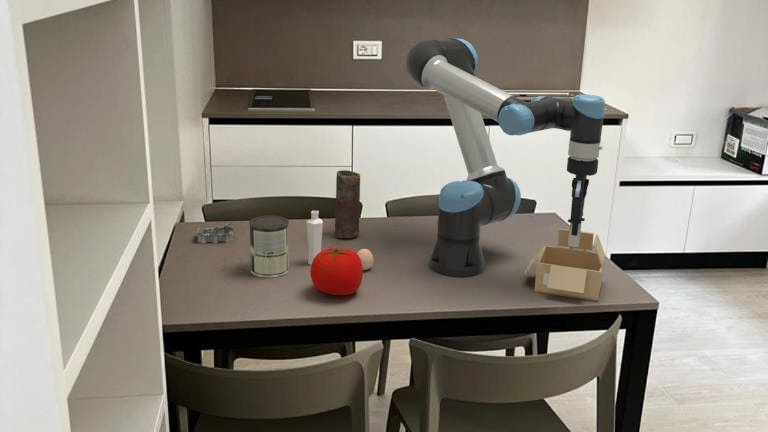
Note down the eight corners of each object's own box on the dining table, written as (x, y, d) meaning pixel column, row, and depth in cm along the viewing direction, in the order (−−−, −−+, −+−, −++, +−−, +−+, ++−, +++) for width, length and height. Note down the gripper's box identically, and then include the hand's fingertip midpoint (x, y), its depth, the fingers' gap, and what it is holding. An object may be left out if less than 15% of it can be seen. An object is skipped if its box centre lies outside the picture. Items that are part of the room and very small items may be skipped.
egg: (355, 273, 214) (356, 252, 212) (353, 266, 218) (354, 246, 217) (374, 272, 214) (375, 252, 213) (371, 265, 219) (372, 245, 217)
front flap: (550, 264, 202) (547, 287, 200) (550, 264, 201) (547, 287, 200) (587, 270, 199) (583, 293, 198) (587, 269, 199) (583, 293, 197)
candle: (345, 230, 246) (346, 168, 240) (364, 235, 242) (365, 172, 236) (329, 236, 240) (330, 173, 234) (348, 242, 236) (350, 177, 230)
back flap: (557, 245, 214) (558, 229, 210) (558, 244, 214) (559, 228, 210) (592, 250, 211) (593, 233, 207) (592, 249, 211) (593, 232, 208)
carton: (534, 291, 205) (537, 263, 203) (542, 272, 218) (544, 245, 215) (597, 301, 200) (601, 272, 198) (601, 281, 213) (605, 253, 211)
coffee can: (242, 269, 213) (241, 220, 209) (273, 260, 220) (272, 212, 216) (265, 281, 207) (264, 230, 202) (296, 271, 213) (296, 222, 209)
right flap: (601, 265, 201) (593, 244, 200) (603, 255, 208) (596, 234, 207) (602, 265, 200) (594, 243, 200) (605, 254, 208) (597, 234, 207)
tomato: (368, 284, 206) (369, 242, 203) (354, 305, 194) (355, 261, 190) (320, 279, 209) (321, 237, 205) (304, 299, 196) (304, 255, 193)
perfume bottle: (326, 263, 220) (327, 211, 215) (315, 267, 217) (315, 215, 212) (315, 258, 223) (315, 208, 218) (303, 262, 220) (303, 211, 215)
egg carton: (234, 235, 240) (233, 222, 239) (233, 244, 233) (233, 230, 232) (197, 235, 238) (197, 223, 237) (196, 244, 231) (195, 231, 230)
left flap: (538, 258, 206) (525, 275, 208) (543, 248, 213) (529, 264, 215) (537, 257, 206) (523, 274, 208) (542, 247, 213) (528, 263, 215)
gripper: (596, 165, 192) (585, 256, 199) (600, 153, 203) (590, 239, 211) (564, 161, 194) (555, 251, 201) (571, 150, 206) (562, 235, 213)
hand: (573, 245), depth 206 cm, fingers closed
